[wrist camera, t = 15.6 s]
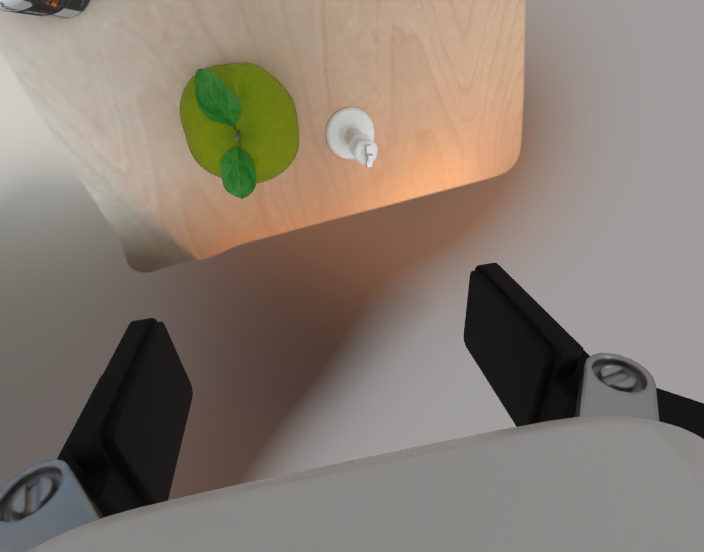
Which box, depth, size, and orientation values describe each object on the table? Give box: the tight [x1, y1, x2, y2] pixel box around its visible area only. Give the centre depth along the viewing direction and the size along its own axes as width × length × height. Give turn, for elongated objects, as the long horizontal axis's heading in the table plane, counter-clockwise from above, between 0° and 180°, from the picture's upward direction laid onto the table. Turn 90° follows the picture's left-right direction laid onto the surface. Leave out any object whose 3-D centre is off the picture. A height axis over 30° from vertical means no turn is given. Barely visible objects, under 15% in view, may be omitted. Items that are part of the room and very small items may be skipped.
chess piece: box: [326, 107, 378, 167], centre depth 34 cm, size 5×5×10 cm
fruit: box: [180, 63, 299, 199], centre depth 31 cm, size 9×9×10 cm
